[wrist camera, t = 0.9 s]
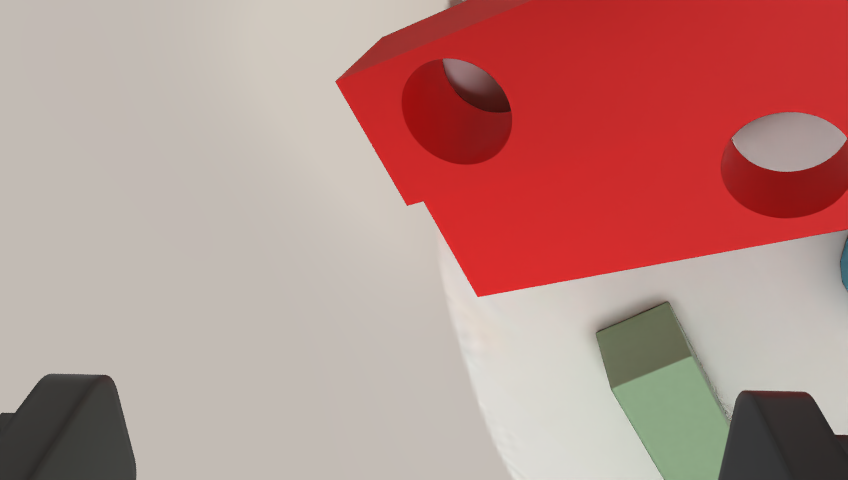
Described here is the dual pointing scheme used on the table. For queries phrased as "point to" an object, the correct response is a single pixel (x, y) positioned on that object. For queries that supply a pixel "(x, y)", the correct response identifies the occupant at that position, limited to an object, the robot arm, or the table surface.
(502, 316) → the table surface
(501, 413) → the table surface
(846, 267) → the cup
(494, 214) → the bracket
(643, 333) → the bar
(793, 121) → the table surface
